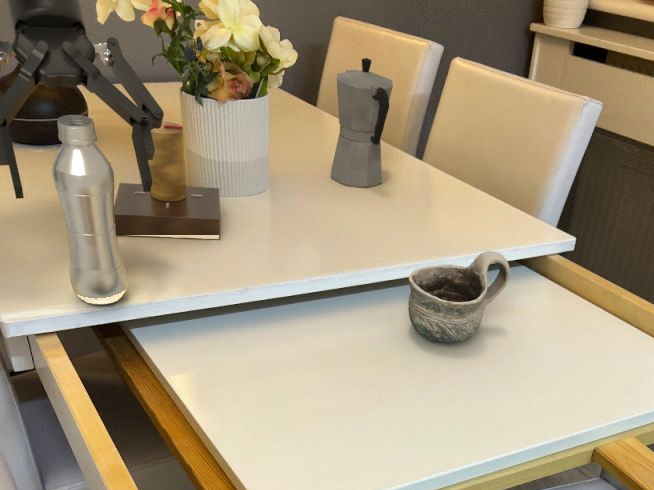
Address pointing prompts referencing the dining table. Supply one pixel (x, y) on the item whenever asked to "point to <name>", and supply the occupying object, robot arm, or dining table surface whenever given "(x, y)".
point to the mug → (454, 297)
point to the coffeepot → (360, 126)
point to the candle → (168, 163)
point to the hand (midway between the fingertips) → (85, 190)
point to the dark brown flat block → (166, 212)
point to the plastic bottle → (88, 210)
